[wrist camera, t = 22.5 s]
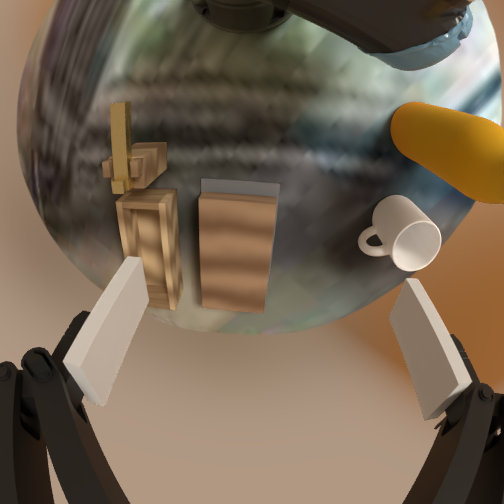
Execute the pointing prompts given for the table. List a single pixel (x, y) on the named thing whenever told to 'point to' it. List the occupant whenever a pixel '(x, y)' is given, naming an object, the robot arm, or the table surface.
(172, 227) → the toolbox
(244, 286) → the lid
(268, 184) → the felt mat
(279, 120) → the table surface
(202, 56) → the table surface
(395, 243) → the mug
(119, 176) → the key
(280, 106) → the table surface
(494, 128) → the beer bottle
